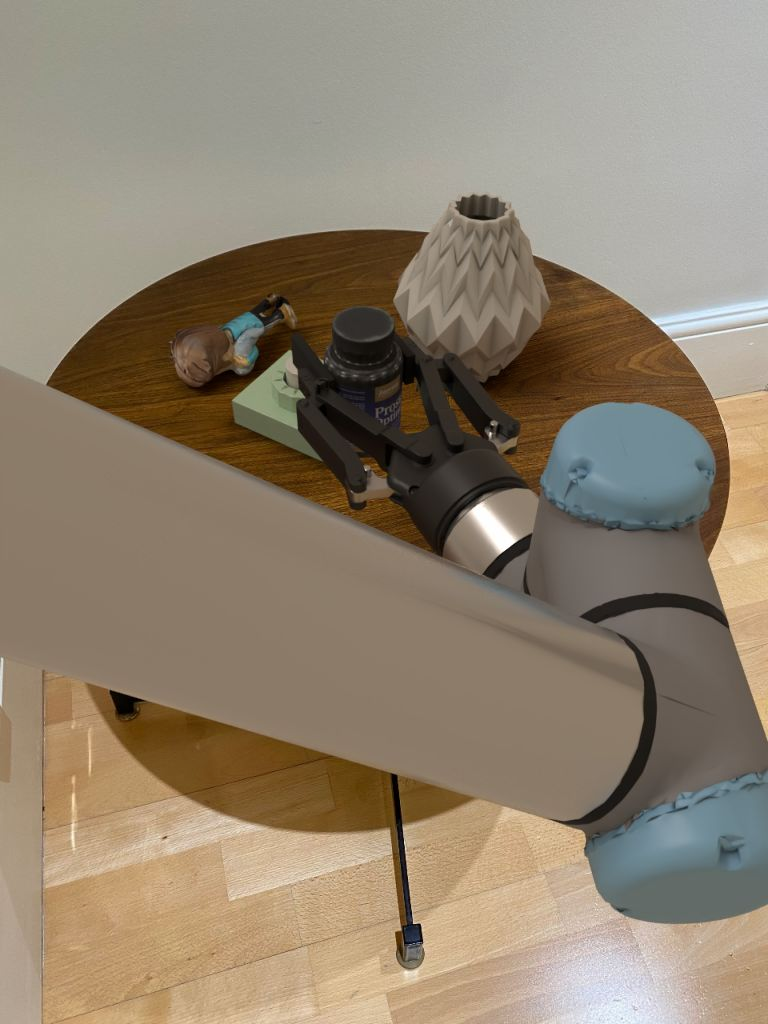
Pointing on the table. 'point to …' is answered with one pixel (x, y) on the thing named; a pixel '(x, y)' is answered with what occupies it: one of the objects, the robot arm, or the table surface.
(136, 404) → the table surface
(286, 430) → the green base with collar
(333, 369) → the pill bottle
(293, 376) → the cylinder peg
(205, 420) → the table surface
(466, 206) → the vase
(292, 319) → the figurine
